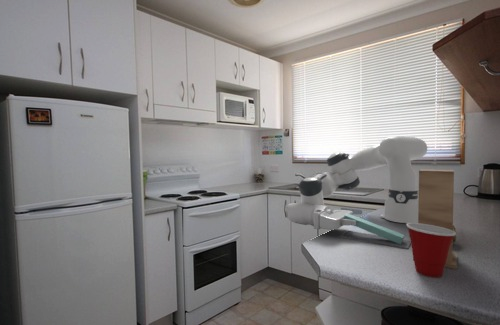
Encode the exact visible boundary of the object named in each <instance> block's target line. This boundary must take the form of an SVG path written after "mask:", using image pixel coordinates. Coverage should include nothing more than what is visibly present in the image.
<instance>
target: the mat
mask: <svg viewBox="0 0 500 325" xmlns="http://www.w3.org/2000/svg"><path fill="white" fill-rule="evenodd" d="M339 237H340V238H345V239H347V240H348V239H349V240H354V241H355V240H356V241H361V242H366V243H372V244H377V245H382V246H387V245H388V247H393V248H398V249H399V248H400V249H404V250H409V248H410V246H411V240H408V239H403V241H402V243H401V244H398V243H396V242H393V241H391V240H388V239H386V238H383V237H381V236H378V235H376V234H373V233H371V234H370V233H365V232H359V231H352V230H346V231H345V232H344V233H342V234H341V235H340V236H339Z"/></svg>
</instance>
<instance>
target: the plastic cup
mask: <svg viewBox="0 0 500 325" xmlns="http://www.w3.org/2000/svg"><path fill="white" fill-rule="evenodd" d="M405 224H406V228H407V229H408V234H409V239H410V241H411V244H410V246H411V251H412V258H414V261H413V262H414V268H415V271H416V272H417V273H418V274H419V275H423V276H426V277H430V278H440V277H442V276H443V274H444V270H445V267H444V266H445V263H446V260H447V256H448V251H449V247H450V244H451V241H452V239H453V237H454V235H456V236H457V231H456V232H455V231H452V230H450V229H446V228H443V227H439V226H434V225H428V224H420V223H405Z"/></svg>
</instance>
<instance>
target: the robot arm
mask: <svg viewBox="0 0 500 325" xmlns="http://www.w3.org/2000/svg"><path fill="white" fill-rule="evenodd" d="M427 152H428V146H427V143H426V142H425V140H423V139H421V138H418V137H415V136H400V135H398V136H397V135H396V136H395V135H394V136H389V137H386V138H384V139H382V141H380V143H379V144H377V145H374V146H370V147H367V148H365V149H362V150H360V151H358V152H356V153H355V154H353V155H352V156H350V154H349V153H345V152H343V151H338V152H333V153H331V155H330V156H329V157H327V159H326V163H327V166H328V167H329V169H330V171H325V172H317V173H314V174H312V175H311V176H309V177H306V178H303V179H301V181H300V182H299V184H298V190H299V193H300V194H299V195H300V201H301V202H294V203H293V202H292V203H288V204H287V207H286V211H285V213H286V217H287V220H288V221H290V222H291V223H293V224H298V225H304V226H308V225H309V226H312V227H313V229H314V230H321V229H322V230H332V231H333V230H334V231H335V230H338V229H340V228H342V227H343V226H354V227H356V226H355V225H357V221H356V220H347V219H344V216H345V215H346V214H351V215H353V216H354V212H353V211H352V210H348V209H347V210H345V209H331V208H330V207H329V206H328V205H325V202H324V198H330V197H331V196H332V195H334V194H335V191H336V189H338V190H343V191H352V190H354V189H355V188H357V187H358V186H359V185H360V183H361V180H360V178H359V176H358V175H357V174H358V173H357V172H362V171H365V172H366V171H369V170H374V169H377V168H381V167H385V166H387V168H388V174H389V189H388V192H387V193H388V194H387V196H388V198H387V199H386V200H385V201H384V209H383V211H384V213H383V214H380V218H382V219H384V220H387V221H391V222H395V223H401V224H407V223H418V203H419V190H418V189H417V188H418V186H417V185H418V184H417V183H418V174H417V172H416V171H415V170H414V168H413V166H412V161H415V160H418V159H422V158H423V157H424V156H426V154H427ZM359 218H361V217H360V216H359Z"/></svg>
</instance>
